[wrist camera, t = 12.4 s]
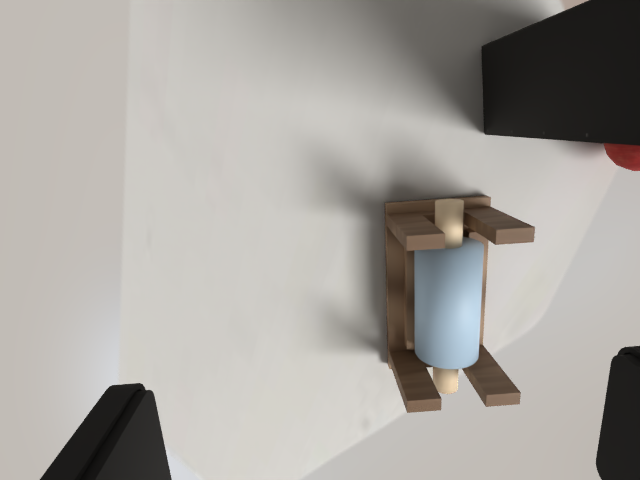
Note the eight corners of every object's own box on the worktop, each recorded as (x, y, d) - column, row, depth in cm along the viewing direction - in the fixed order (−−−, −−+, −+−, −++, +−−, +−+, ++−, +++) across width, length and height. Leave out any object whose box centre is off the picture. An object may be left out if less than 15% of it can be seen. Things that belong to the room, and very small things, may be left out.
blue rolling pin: (407, 197, 39) (424, 210, 33) (470, 193, 39) (498, 205, 33) (408, 371, 44) (423, 408, 39) (463, 367, 44) (487, 403, 39)
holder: (384, 202, 40) (406, 224, 31) (486, 195, 40) (535, 215, 32) (387, 363, 45) (407, 421, 36) (477, 357, 45) (518, 412, 37)
